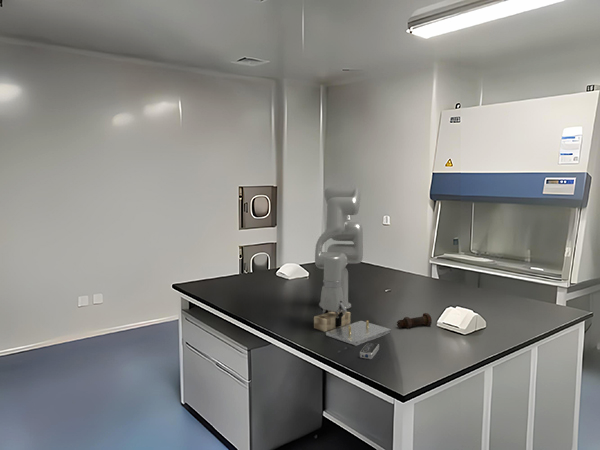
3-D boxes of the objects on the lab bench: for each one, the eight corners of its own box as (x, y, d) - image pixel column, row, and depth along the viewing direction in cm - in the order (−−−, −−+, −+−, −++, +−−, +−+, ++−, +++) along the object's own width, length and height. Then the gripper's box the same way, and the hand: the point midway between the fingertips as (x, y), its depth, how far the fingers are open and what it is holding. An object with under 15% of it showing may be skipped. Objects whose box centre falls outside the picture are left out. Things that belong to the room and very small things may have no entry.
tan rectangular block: (314, 327, 196) (313, 316, 196) (339, 320, 207) (339, 309, 206) (324, 331, 192) (324, 319, 191) (350, 323, 202) (350, 312, 202)
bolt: (397, 332, 196) (427, 327, 201) (402, 329, 192) (433, 324, 196) (393, 318, 198) (423, 314, 203) (398, 316, 194) (429, 311, 199)
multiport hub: (379, 349, 172) (379, 343, 172) (371, 360, 162) (371, 354, 162) (367, 348, 174) (367, 342, 173) (359, 358, 164) (359, 352, 163)
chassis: (326, 335, 187) (326, 324, 186) (361, 323, 201) (361, 313, 201) (355, 345, 175) (355, 334, 174) (390, 332, 190) (391, 322, 189)
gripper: (312, 282, 201) (312, 321, 203) (341, 288, 189) (341, 331, 190) (324, 279, 206) (324, 318, 208) (353, 286, 194) (353, 327, 195)
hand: (332, 324), depth 199 cm, fingers closed on tan rectangular block, 6 cm apart
